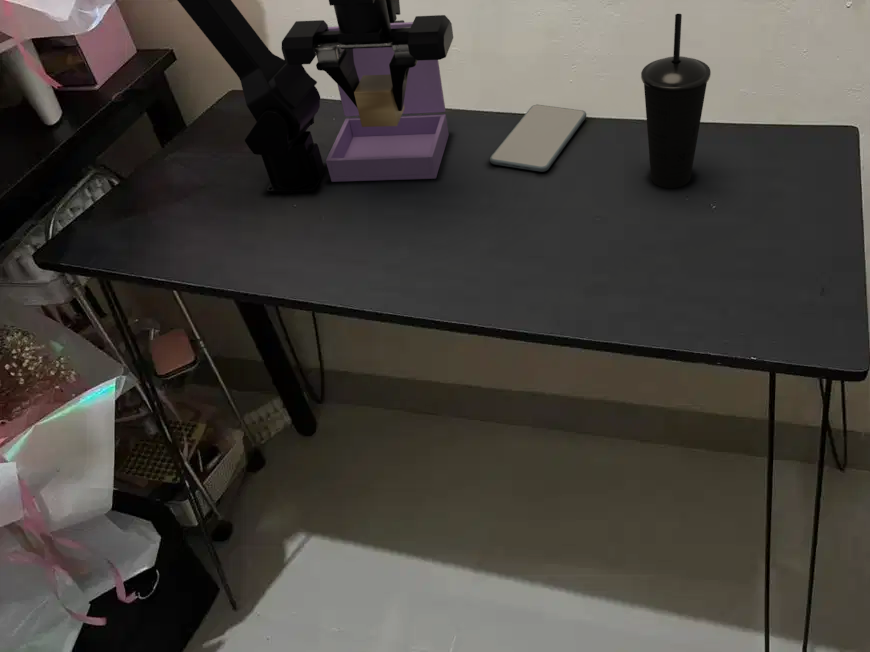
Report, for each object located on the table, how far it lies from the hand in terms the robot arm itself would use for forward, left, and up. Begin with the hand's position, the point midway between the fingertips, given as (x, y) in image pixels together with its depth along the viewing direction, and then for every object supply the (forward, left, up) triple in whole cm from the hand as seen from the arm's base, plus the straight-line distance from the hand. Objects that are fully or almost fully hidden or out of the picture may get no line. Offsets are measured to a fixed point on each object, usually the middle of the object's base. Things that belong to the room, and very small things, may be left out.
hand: (382, 109), depth 100 cm
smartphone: (+18, +10, -11) cm, 23 cm away
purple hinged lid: (-2, +13, -1) cm, 13 cm away
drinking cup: (+35, 0, -11) cm, 36 cm away
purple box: (-2, +7, -11) cm, 13 cm away
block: (0, 0, -1) cm, 1 cm away
